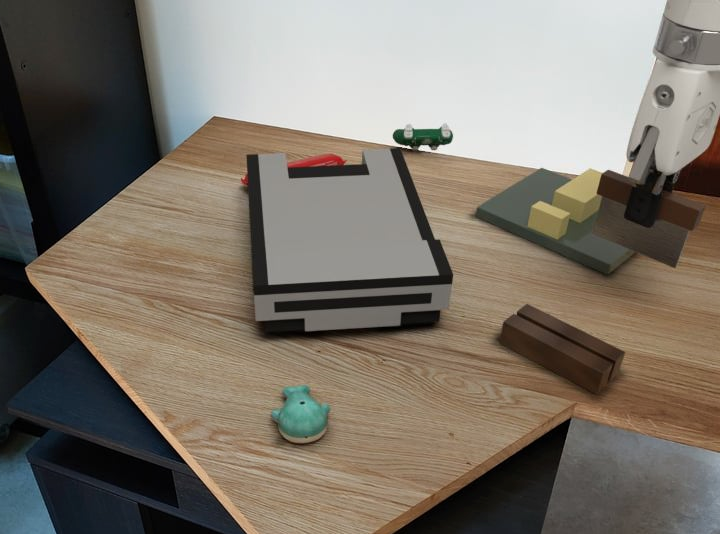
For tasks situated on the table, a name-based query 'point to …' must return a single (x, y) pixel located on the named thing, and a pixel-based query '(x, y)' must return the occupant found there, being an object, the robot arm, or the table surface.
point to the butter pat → (548, 220)
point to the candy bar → (311, 163)
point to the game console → (342, 246)
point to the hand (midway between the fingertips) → (643, 217)
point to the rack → (562, 348)
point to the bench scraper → (652, 242)
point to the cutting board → (575, 244)
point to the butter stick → (579, 196)
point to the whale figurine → (301, 416)
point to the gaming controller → (423, 137)
